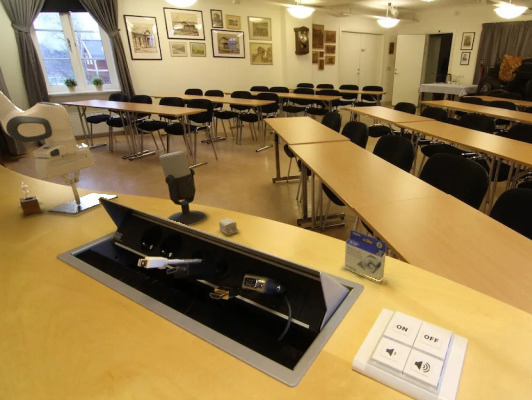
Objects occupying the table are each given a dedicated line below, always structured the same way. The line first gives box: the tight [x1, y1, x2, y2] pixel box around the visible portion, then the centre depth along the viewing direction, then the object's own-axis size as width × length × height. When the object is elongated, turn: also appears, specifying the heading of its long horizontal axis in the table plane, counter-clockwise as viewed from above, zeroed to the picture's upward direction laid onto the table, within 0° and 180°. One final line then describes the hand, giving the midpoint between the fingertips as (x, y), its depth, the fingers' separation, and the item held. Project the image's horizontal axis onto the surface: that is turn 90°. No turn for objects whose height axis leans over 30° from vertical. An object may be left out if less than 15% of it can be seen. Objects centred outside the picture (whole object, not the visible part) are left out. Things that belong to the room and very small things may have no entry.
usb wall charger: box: [218, 217, 239, 236], centre depth 107 cm, size 4×7×4 cm, turn 44°
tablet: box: [47, 193, 118, 216], centre depth 129 cm, size 13×20×1 cm, turn 168°
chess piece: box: [20, 180, 31, 198], centre depth 126 cm, size 5×5×10 cm
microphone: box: [158, 150, 206, 227], centre depth 114 cm, size 13×13×25 cm
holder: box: [19, 195, 42, 217], centre depth 119 cm, size 5×5×6 cm
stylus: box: [68, 175, 81, 205], centre depth 125 cm, size 1×1×12 cm
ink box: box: [343, 229, 388, 285], centre depth 85 cm, size 12×2×12 cm, turn 50°
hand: (72, 183), depth 123 cm, fingers closed on stylus, 1 cm apart
